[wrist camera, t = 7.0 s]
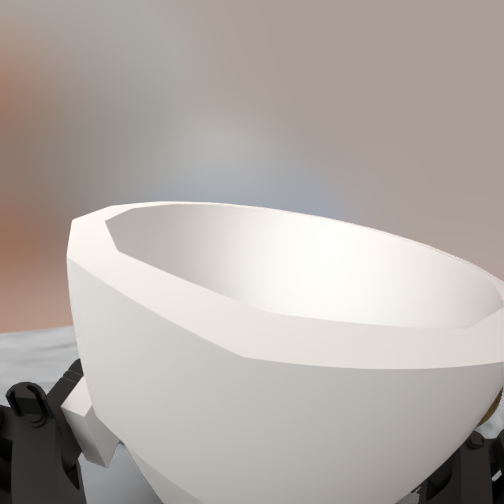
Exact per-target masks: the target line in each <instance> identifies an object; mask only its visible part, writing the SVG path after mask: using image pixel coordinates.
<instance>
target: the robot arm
mask: <svg viewBox="0 0 504 504" xmlns="http://www.w3.org/2000/svg"><path fill="white" fill-rule="evenodd" d="M6 398H7V400H8V402H9V404H10V406H11V408H10V407H6V406H3V405H0V504H87V503H86V498H85V493H84V487H83V481H82V475H81V468H80V464H79V461H78V458H79V456H80V454H81V452H82V453H83V455H84V457H85V458H86V460H87V461H90V462H92V463H95V464H97V465H100V466H102V467H105V468H108V465H109V463H110V461H111V458H112V456H113V454H114V452H115V449H116V447H117V445H118V443H119V440H120V439H119V438H118V437H117V436H116V435H115V434H114V433H113V432H112V431H111V430H110V429H109V428H108V427H107V426H106V425H105V424H104V423H103V422H102V421H101V420H100V419H99V418H98V417H97V416H96V414H95V411H94V408H93V405H92V402H91V399H90V395H89V392H88V388H87V384H86V381H85V377H84V373H83V369H82V364H81V360H80V358H79V359H77V360H76V361H75V362H74V363H73V364H72V365H71V366H70V368H69V369H68V371H66V372H65V374H64V375H63V377H62V378H60V379H59V381H58V382H57V383H56V384H55V386H54V387H53V388H52V389H51V390H50V392H49V393H48V394H47V395H46V394H45V392H44V390H43V389H42V388H41V387H40V386H39V385H37V384H35V383H31V382H20V383H18V384H15V385H13V386H12V387H11V388H10V389H9V390H8V391H7V394H6ZM499 470H501V473H502V475H501V476H500V477H499V478H498V479H497V480H496V481H495V482H494V481H492V479H491V478H492V477H493V476H494V475H495V474H496V473H497V472H498V471H499ZM420 486H421V488H420V489H419V490H418V491H417V493H420V495H419V502H418V504H504V429H503V430H502V431H501V432H500V433H499V435H498V436H497V437H496V438H494V439H485V438H484V437H483V436H482V435H481V434H480V433H478V432H477V431H472V433H471V434H470V435H469V437H468V438H467V439H466V440H465V441H464V442H463V443H462V445H461V446H460V447H459V448H458V449H457V450H456V451H455V452H454V453H453V454H452V455H451V456H450V457H449V458H448V459H447V460H446V461H445V462H444V463H443V464H442V465H441V466H440V467H439V468H438V469H437V470H435V471H434V472H433V473H432V474H431V475H430V476H429V477H428V478H427V479H425V480H424V481H423V482H422V483H421V484H419V485H418V486H417V487H416V488H415V489H413V490H412V491H411V493H413V492H414V491H415V490H417V489H418V488H419V487H420Z"/></svg>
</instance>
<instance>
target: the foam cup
mask: <svg viewBox="0 0 504 504" xmlns="http://www.w3.org/2000/svg"><path fill="white" fill-rule="evenodd" d="M67 271H68V282H69V292H70V302H71V310H72V316H73V323H74V330H75V335H76V341H77V346H78V351H79V356H80V360H81V364H82V369H83V373H84V377H85V381H86V384H87V388H88V392H89V395H90V399H91V402H92V405H93V408H94V411H95V414H96V416H97V417H98V418H99V419H100V420H101V421H102V422H103V423H104V424H105V425H106V426H107V427H108V428H109V429H110V430H111V431H112V432H113V433H114V434H115V435H116V436H117V437H118V438H119V439H120V440H121V441H122V442H123V443H124V444H125V446H126V448H127V450H128V451H129V453H130V455H131V456H132V458H133V460H134V461H135V463H136V464H137V466H138V468H139V469H140V471H141V472H142V474H143V475H144V477H145V478H146V480H147V481H148V483H149V484H150V485H151V487H152V488H153V490H154V491H155V492H156V494H157V495H158V497H159V498H160V499H161V501H162V502H163V503H164V504H395V503H396V502H398V501H399V500H400V499H402V498H403V497H404V496H406V495H407V494H408V493H410V492H411V491H412V490H413V489H415V488H416V487H417V486H418V485H419V484H421V483H422V482H423V481H424V480H425V479H427V478H428V477H429V476H430V475H431V474H432V473H433V472H434V471H435V470H437V469H438V468H439V467H440V466H441V465H442V464H443V463H444V462H445V461H446V460H447V459H448V458H449V457H450V456H451V455H452V454H453V453H454V452H455V451H456V450H457V449H458V448H459V447H460V446H461V445H462V443H463V442H464V441H465V440H466V439H467V438H468V437H469V435H470V434H471V433H472V431H473V430H474V429H475V427H476V426H477V425H478V423H479V422H480V421H481V419H482V418H483V416H484V415H485V414H486V412H487V411H488V409H489V408H490V406H491V405H492V403H493V402H494V400H495V398H496V397H497V395H498V394H499V392H500V390H501V389H502V387H503V385H504V282H502V281H501V280H499V279H498V278H496V277H494V276H493V275H491V274H490V273H488V272H486V271H485V270H483V269H481V268H479V267H478V266H476V265H474V264H472V263H470V262H468V261H465V260H463V259H461V258H458V257H456V256H453V255H451V254H448V253H446V252H444V251H441V250H439V249H436V248H434V247H431V246H429V245H426V244H422V243H420V242H416V241H413V240H410V239H406V238H404V237H400V236H397V235H393V234H390V233H387V232H384V231H380V230H376V229H372V228H368V227H364V226H359V225H355V224H351V223H347V222H342V221H338V220H333V219H329V218H324V217H319V216H312V215H307V214H301V213H295V212H289V211H283V210H276V209H270V208H261V207H252V206H242V205H232V204H222V203H205V202H149V203H136V204H126V205H116V206H110V207H107V208H104V209H101V210H98V211H95V212H93V213H90V214H87V215H84V216H82V217H79V218H76V219H74V220H72V225H71V231H70V237H69V243H68V250H67Z"/></svg>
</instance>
